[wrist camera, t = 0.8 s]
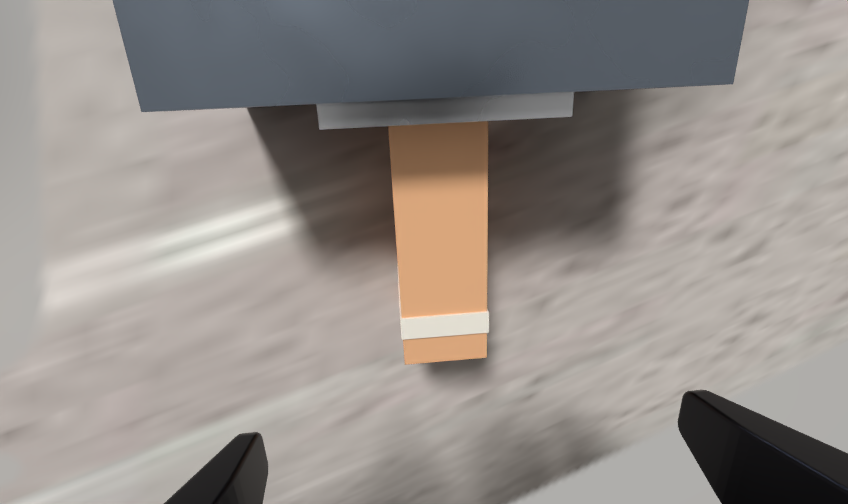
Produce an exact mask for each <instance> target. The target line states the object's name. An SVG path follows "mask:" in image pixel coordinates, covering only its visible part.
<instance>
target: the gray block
mask: <svg viewBox="0 0 848 504" xmlns="http://www.w3.org/2000/svg"><path fill="white" fill-rule="evenodd" d="M748 3H749V0H113V4H114V8H115V11H116V15H117V19H118V23H119V27H120V31H121V35H122V38H123V42H124V46H125V50H126V54H127V58H128V62H129V65H130V69H131V73H132V77H133V81H134V85H135V89H136V93H137V96H138V100H139V104H140V108H141V112H154V111H178V110H202V109H225V108H249V107H270V106H291V105H312V104H316V106H317V114H318V122H319V130H322V129H342V128H361V127H381V126H400V125H420V124H439V123H459V122H479V121H498V120H518V119H537V118H557V117H572V113H573V99H574V92H587V91H607V90H627V89H646V88H666V87H686V86H705V85H725V84H733V82H734V77H735V71H736V66H737V61H738V56H739V50H740V45H741V40H742V35H743V29H744V24H745V19H746V14H747V8H748Z"/></svg>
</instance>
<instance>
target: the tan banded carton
mask: <svg viewBox="0 0 848 504" xmlns="http://www.w3.org/2000/svg"><path fill="white" fill-rule="evenodd" d="M388 132H389V147H390V161H391V175H392V189H393V203H394V217H395V231H396V245H397V260H398V265H397V271H398V289H399V306H400V323H401V337H402V340H403V344H404V358H405V365H406V364H417V363H429V362H441V361H452V360H464V359H476V358H487V333H489V311H488V309H487V238H488V121H479V122H459V123H439V124H420V125H400V126H388Z"/></svg>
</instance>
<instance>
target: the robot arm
mask: <svg viewBox="0 0 848 504" xmlns="http://www.w3.org/2000/svg"><path fill="white" fill-rule="evenodd" d="M678 427H679V431H680V433H681V435H682V437H683V438H684V440H685V442H686V444H687V446H688V447H689V449H690V451H691V452H692V454H693V456H694V457H695V459H696V461H697V463H698V464H699V466H700V468H701V470H702V471H703V473H704V475H705V476H706V478H707V480H708V482H709V483H710V485H711V487H712V488H713V490H714V492H715V493H716V495H717V497H718V498H719V500H720V502H721V503H722V504H848V453H845V452H843V451H841V450H839V449H836V448H834V447H832V446H830V445H828V444H825V443H823V442H821V441H819V440H816V439H814V438H812V437H810V436H807V435H805V434H803V433H801V432H798V431H796V430H794V429H792V428H790V427H787V426H785V425H783V424H781V423H778V422H776V421H774V420H772V419H769V418H767V417H765V416H763V415H761V414H758V413H756V412H754V411H752V410H749V409H747V408H745V407H743V406H741V405H738V404H736V403H734V402H732V401H729V400H727V399H725V398H723V397H721V396H718V395H716V394H714V393H712V392H709V391H707V390H694V391H687V392H685V394H684V395H683V398H682V403H681V408H680V413H679V418H678ZM267 476H268V461H267V457H266V452H265V447H264V443H263V439H262V436H261V434H260V433H258V432H253V433H242V434H239V435H238V436H236V437H235V438H234V439H233V440H232V441H231V442H230V443H229V444H227V445H226V446H225V447H224V448H223V449H222V450H221V451H220V452H219V453H218V454H217V455H216V456H215V457H214V458H212V459H211V460H210V461H209V462H208V463H207V464H206V465H205V466H204V467H203V468H202V469H201V470H200V471H198V472H197V473H196V474H195V475H194V476H193V477H192V478H191V479H190V480H189V481H188V482H187V483H186V484H184V485H183V486H182V487H181V488H180V489H179V490H178V491H177V492H176V493H175V494H174V495H173V496H172V497H171V498H169V499H168V500H167V501H166V502H165V503H164V504H263V498H264V493H265V487H266V482H267Z"/></svg>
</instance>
